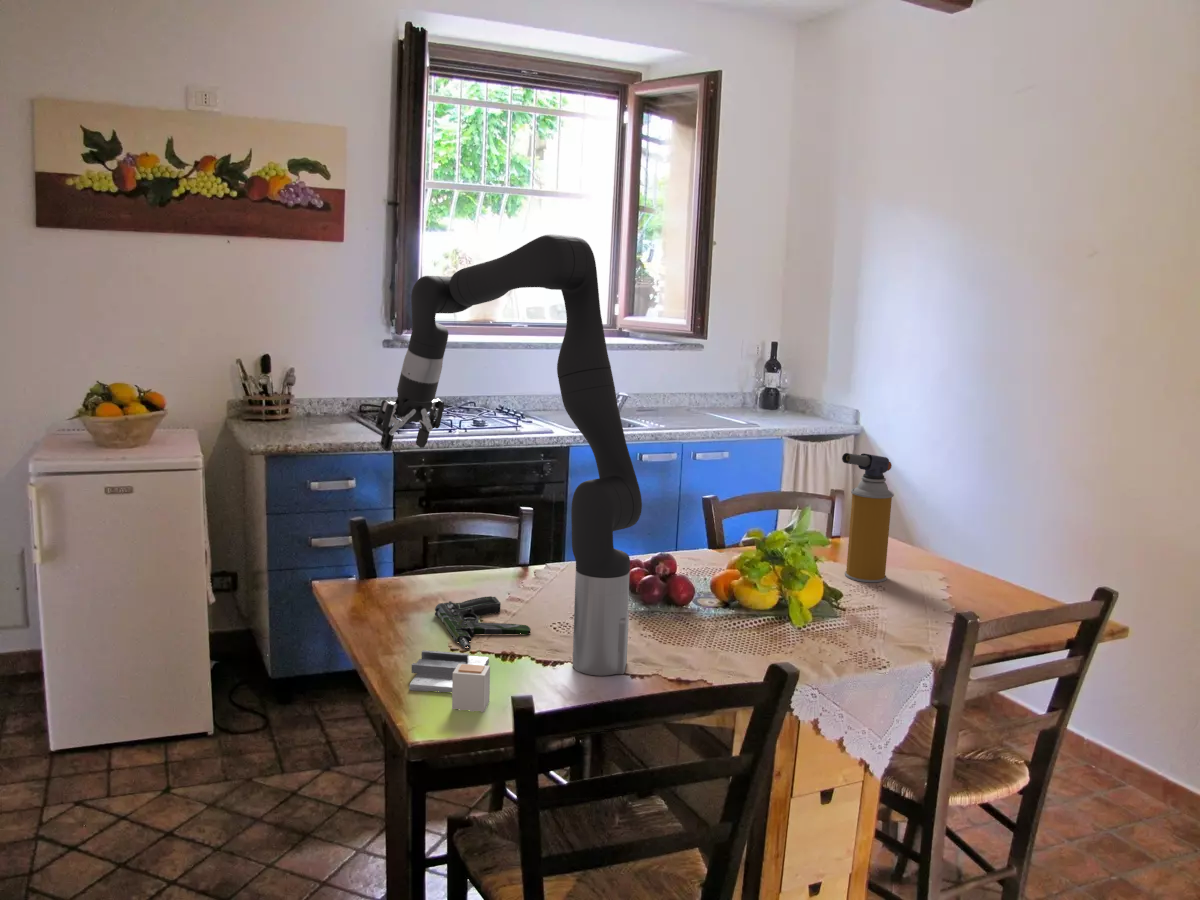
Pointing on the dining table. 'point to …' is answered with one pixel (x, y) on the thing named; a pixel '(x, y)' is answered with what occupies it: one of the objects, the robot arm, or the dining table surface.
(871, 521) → the blowtorch
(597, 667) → the robot arm
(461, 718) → the dining table surface
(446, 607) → the pistol
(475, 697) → the block
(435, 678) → the rail panel
